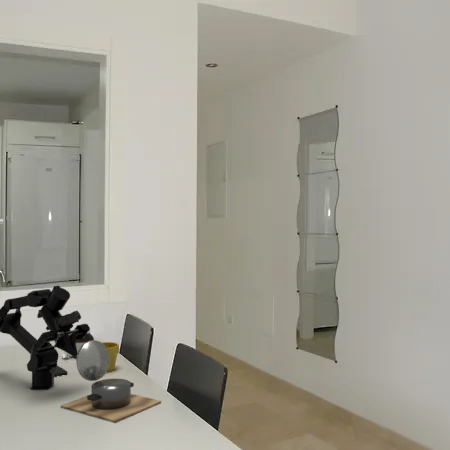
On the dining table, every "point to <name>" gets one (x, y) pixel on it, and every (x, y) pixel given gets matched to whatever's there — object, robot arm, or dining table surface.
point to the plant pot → (111, 354)
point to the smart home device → (59, 371)
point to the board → (114, 415)
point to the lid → (92, 360)
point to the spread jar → (79, 344)
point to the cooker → (111, 394)
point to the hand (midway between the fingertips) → (76, 355)
